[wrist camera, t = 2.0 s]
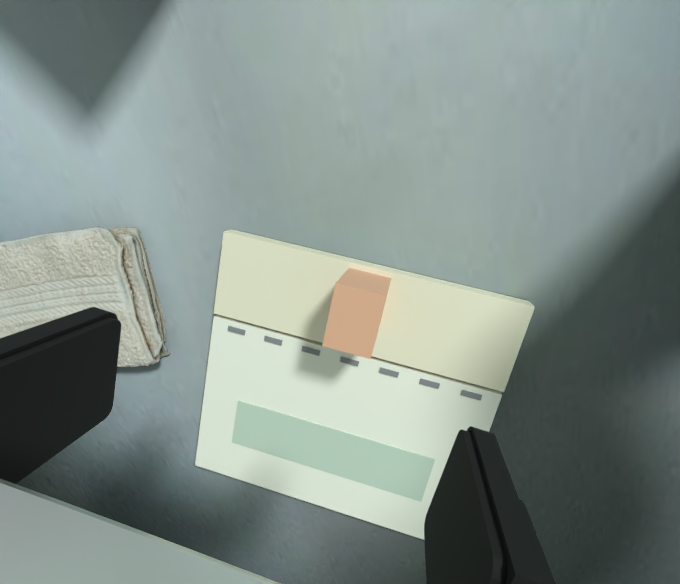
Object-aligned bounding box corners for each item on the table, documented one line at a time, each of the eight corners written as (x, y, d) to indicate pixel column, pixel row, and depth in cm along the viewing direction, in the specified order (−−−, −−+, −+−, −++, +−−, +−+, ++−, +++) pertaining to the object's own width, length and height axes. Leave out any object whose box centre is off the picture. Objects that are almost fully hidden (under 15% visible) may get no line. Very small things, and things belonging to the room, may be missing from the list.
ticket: (497, 385, 29) (502, 395, 27) (445, 531, 33) (447, 548, 31) (222, 311, 32) (213, 316, 30) (203, 454, 35) (194, 465, 34)
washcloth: (182, 353, 34) (160, 369, 31) (18, 371, 38) (-15, 386, 35) (144, 216, 31) (117, 218, 29) (-27, 250, 35) (-67, 255, 32)
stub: (528, 301, 27) (562, 332, 21) (499, 382, 29) (522, 433, 22) (232, 229, 30) (185, 238, 23) (222, 307, 31) (175, 335, 25)
